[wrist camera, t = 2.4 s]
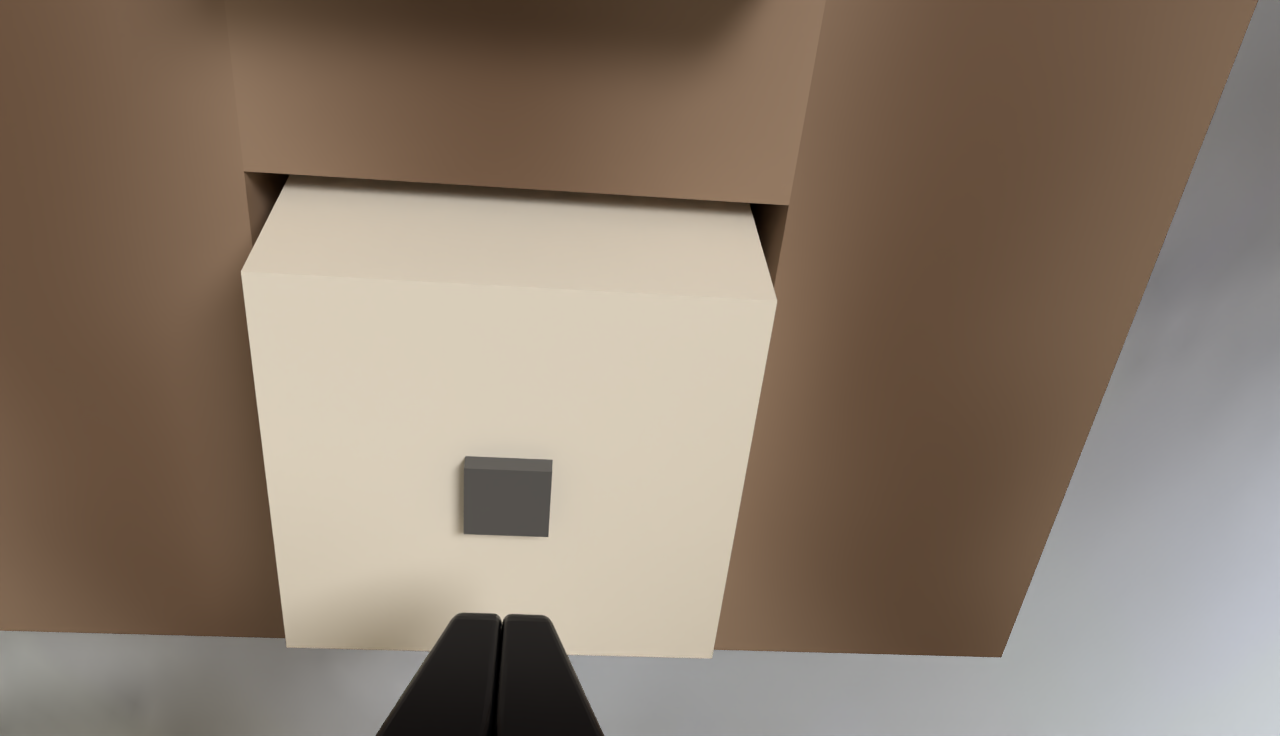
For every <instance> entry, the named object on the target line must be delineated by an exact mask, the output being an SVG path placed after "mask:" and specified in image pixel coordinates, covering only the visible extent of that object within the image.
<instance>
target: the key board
mask: <svg viewBox="0 0 1280 736" xmlns="http://www.w3.org/2000/svg"><path fill="white" fill-rule="evenodd" d="M1257 2H1258V0H0V630H1V631H38V632H76V633H113V634H150V635H188V636H225V637H263V638H286V637H285V629H284V621H283V613H282V605H281V597H280V588H279V580H278V572H277V564H276V556H275V547H274V539H273V531H272V523H271V515H270V506H269V498H268V490H267V482H266V474H265V466H264V457H263V449H262V441H261V433H260V425H259V416H258V408H257V400H256V392H255V384H254V375H253V367H252V359H251V351H250V343H249V335H248V326H247V318H246V310H245V302H244V294H243V285H242V277H241V270H242V268H243V266H244V264H245V262H246V260H247V258H248V256H249V254H250V252H251V250H252V248H253V246H254V244H255V242H256V240H257V239H258V237H259V235H260V233H261V231H262V229H263V227H264V225H265V223H266V221H267V219H268V217H269V215H270V213H271V211H272V209H273V207H274V205H275V203H276V201H277V199H278V197H279V195H280V193H281V191H282V189H283V187H284V185H285V183H286V181H287V179H288V177H289V175H290V174H295V175H311V176H327V177H343V178H359V179H375V180H391V181H407V182H423V183H439V184H455V185H471V186H487V187H503V188H519V189H535V190H551V191H567V192H583V193H599V194H615V195H631V196H647V197H663V198H679V199H695V200H711V201H727V202H743V203H749V204H750V208H751V211H752V215H753V218H754V222H755V225H756V229H757V232H758V236H759V239H760V242H761V246H762V249H763V253H764V256H765V260H766V263H767V267H768V270H769V274H770V277H771V281H772V284H773V288H774V291H775V294H776V298H777V306H776V311H775V317H774V322H773V328H772V333H771V338H770V344H769V349H768V355H767V360H766V366H765V371H764V377H763V382H762V388H761V393H760V399H759V404H758V409H757V415H756V420H755V426H754V431H753V437H752V442H751V448H750V453H749V459H748V464H747V470H746V475H745V480H744V486H743V491H742V497H741V502H740V508H739V513H738V519H737V524H736V530H735V535H734V540H733V546H732V551H731V557H730V562H729V568H728V573H727V579H726V584H725V590H724V595H723V601H722V606H721V611H720V617H719V622H718V628H717V633H716V639H715V644H714V650H748V651H786V652H823V653H860V654H898V655H935V656H972V657H1001V656H1002V654H1003V651H1004V649H1005V646H1006V644H1007V641H1008V639H1009V636H1010V633H1011V631H1012V628H1013V626H1014V623H1015V621H1016V618H1017V615H1018V613H1019V610H1020V608H1021V605H1022V603H1023V600H1024V598H1025V595H1026V592H1027V590H1028V587H1029V585H1030V582H1031V580H1032V577H1033V575H1034V572H1035V569H1036V567H1037V564H1038V562H1039V559H1040V557H1041V554H1042V552H1043V549H1044V546H1045V544H1046V541H1047V539H1048V536H1049V534H1050V531H1051V529H1052V526H1053V523H1054V521H1055V518H1056V516H1057V513H1058V511H1059V508H1060V506H1061V503H1062V500H1063V498H1064V495H1065V493H1066V490H1067V488H1068V485H1069V483H1070V480H1071V477H1072V475H1073V472H1074V470H1075V467H1076V465H1077V462H1078V460H1079V457H1080V454H1081V452H1082V449H1083V447H1084V444H1085V442H1086V439H1087V437H1088V434H1089V431H1090V429H1091V426H1092V424H1093V421H1094V419H1095V416H1096V414H1097V411H1098V408H1099V406H1100V403H1101V401H1102V398H1103V396H1104V393H1105V391H1106V388H1107V385H1108V383H1109V380H1110V378H1111V375H1112V373H1113V370H1114V368H1115V365H1116V362H1117V360H1118V357H1119V355H1120V352H1121V350H1122V347H1123V345H1124V342H1125V339H1126V337H1127V334H1128V332H1129V329H1130V327H1131V324H1132V322H1133V319H1134V316H1135V314H1136V311H1137V309H1138V306H1139V304H1140V301H1141V299H1142V296H1143V293H1144V291H1145V288H1146V286H1147V283H1148V281H1149V278H1150V276H1151V273H1152V270H1153V268H1154V265H1155V263H1156V260H1157V258H1158V255H1159V253H1160V250H1161V247H1162V245H1163V242H1164V240H1165V237H1166V235H1167V232H1168V230H1169V227H1170V224H1171V222H1172V219H1173V217H1174V214H1175V212H1176V209H1177V207H1178V204H1179V201H1180V199H1181V196H1182V194H1183V191H1184V189H1185V186H1186V184H1187V181H1188V178H1189V176H1190V173H1191V171H1192V168H1193V166H1194V163H1195V161H1196V158H1197V155H1198V153H1199V150H1200V148H1201V145H1202V143H1203V140H1204V138H1205V135H1206V132H1207V130H1208V127H1209V125H1210V122H1211V120H1212V117H1213V115H1214V112H1215V109H1216V107H1217V104H1218V102H1219V99H1220V97H1221V94H1222V92H1223V89H1224V86H1225V84H1226V81H1227V79H1228V76H1229V74H1230V71H1231V69H1232V66H1233V63H1234V61H1235V58H1236V56H1237V53H1238V51H1239V48H1240V46H1241V43H1242V40H1243V38H1244V35H1245V33H1246V30H1247V28H1248V25H1249V23H1250V20H1251V17H1252V15H1253V12H1254V10H1255V7H1256V5H1257Z"/></svg>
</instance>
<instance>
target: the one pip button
mask: <svg viewBox="0 0 1280 736" xmlns="http://www.w3.org/2000/svg"><path fill="white" fill-rule="evenodd" d="M241 277H242V285H243V294H244V302H245V310H246V318H247V326H248V335H249V343H250V351H251V359H252V367H253V375H254V384H255V392H256V400H257V408H258V416H259V425H260V433H261V441H262V449H263V457H264V466H265V474H266V482H267V490H268V498H269V506H270V515H271V523H272V531H273V539H274V547H275V556H276V564H277V572H278V580H279V588H280V597H281V605H282V613H283V621H284V629H285V637H286V646H287V647H288V648H326V649H364V650H403V651H431V649H432V648H433V646H434V645H435V643H436V642H437V640H438V639H439V637H440V636H441V634H442V633H443V631H444V629H445V628H446V626H447V625H448V623H449V622H450V620H451V619H452V618H453V617H454V616H455V615H456V614H458V613H494V614H497V615H498V616H500V618H501V620H502V622H503V619H504V617H505V616H507V615H508V614H531V615H545V616H547V617H548V618H549V619H550V620H551V621H552V623H553V625H554V627H555V629H556V631H557V634H558V636H559V638H560V640H561V642H562V644H563V647H564V649H565V651H566V653H567V655H595V656H633V657H672V658H710V659H712V655H713V650H714V644H715V639H716V633H717V628H718V622H719V617H720V611H721V606H722V601H723V595H724V590H725V584H726V579H727V573H728V568H729V562H730V557H731V551H732V546H733V540H734V535H735V530H736V524H737V519H738V513H739V508H740V502H741V497H742V491H743V486H744V480H745V475H746V470H747V464H748V459H749V453H750V448H751V442H752V437H753V431H754V426H755V420H756V415H757V409H758V404H759V399H760V393H761V388H762V382H763V377H764V371H765V366H766V360H767V355H768V349H769V344H770V338H771V333H772V328H773V322H774V317H775V311H776V306H777V298H776V294H775V291H774V288H773V284H772V281H771V277H770V274H769V270H768V267H767V263H766V260H765V256H764V253H763V249H762V246H761V242H760V239H759V236H758V232H757V229H756V225H755V222H754V218H753V215H752V211H751V208H750V204H749V203H743V202H727V201H711V200H695V199H679V198H663V197H647V196H631V195H615V194H599V193H583V192H567V191H551V190H535V189H519V188H503V187H487V186H471V185H455V184H439V183H423V182H407V181H391V180H375V179H359V178H343V177H327V176H311V175H295V174H290V175H289V177H288V179H287V181H286V183H285V185H284V187H283V189H282V191H281V193H280V195H279V197H278V199H277V201H276V203H275V205H274V207H273V209H272V211H271V213H270V215H269V217H268V219H267V221H266V223H265V225H264V227H263V229H262V231H261V233H260V235H259V237H258V239H257V240H256V242H255V244H254V246H253V248H252V250H251V252H250V254H249V256H248V258H247V260H246V262H245V264H244V266H243V268H242V270H241Z"/></svg>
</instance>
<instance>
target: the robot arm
mask: <svg viewBox="0 0 1280 736" xmlns="http://www.w3.org/2000/svg"><path fill="white" fill-rule="evenodd" d="M376 736H604V734H603V732H602V730H601V728H600V725H599V723H598V721H597V719H596V717H595V715H594V712H593V710H592V708H591V706H590V704H589V701H588V699H587V697H586V695H585V693H584V690H583V688H582V686H581V684H580V682H579V680H578V677H577V675H576V673H575V671H574V669H573V666H572V664H571V662H570V660H569V658H568V655H567V653H566V651H565V649H564V647H563V644H562V642H561V640H560V638H559V636H558V634H557V631H556V629H555V627H554V625H553V623H552V621H551V620H550V619H549V618H548V617H547V616H545V615H531V614H508V615H507V616H505V617H504V619H503V622H502V620H501V618H500V616H498V615H497V614H494V613H458V614H456V615H455V616H454V617H453V618H452V619H451V620H450V622H449V623H448V625H447V626H446V628H445V629H444V631H443V633H442V634H441V636H440V637H439V639H438V640H437V642H436V643H435V645H434V646H433V648H432V649H431V651H430V653H429V654H428V656H427V657H426V659H425V660H424V662H423V663H422V665H421V666H420V668H419V670H418V671H417V673H416V674H415V676H414V677H413V679H412V680H411V682H410V683H409V685H408V686H407V688H406V690H405V691H404V693H403V694H402V696H401V697H400V699H399V700H398V702H397V703H396V705H395V706H394V708H393V710H392V711H391V713H390V714H389V716H388V717H387V719H386V720H385V722H384V723H383V725H382V727H381V728H380V730H379V731H378V733H377V734H376Z"/></svg>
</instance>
